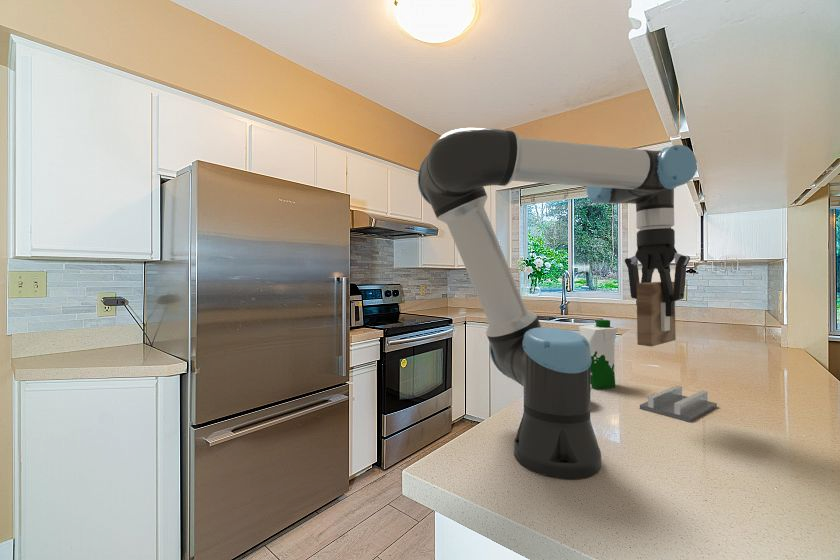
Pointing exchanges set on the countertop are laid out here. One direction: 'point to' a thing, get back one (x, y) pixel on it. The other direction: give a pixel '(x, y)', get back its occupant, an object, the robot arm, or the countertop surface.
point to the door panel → (652, 315)
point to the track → (679, 404)
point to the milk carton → (601, 353)
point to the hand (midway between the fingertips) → (656, 329)
